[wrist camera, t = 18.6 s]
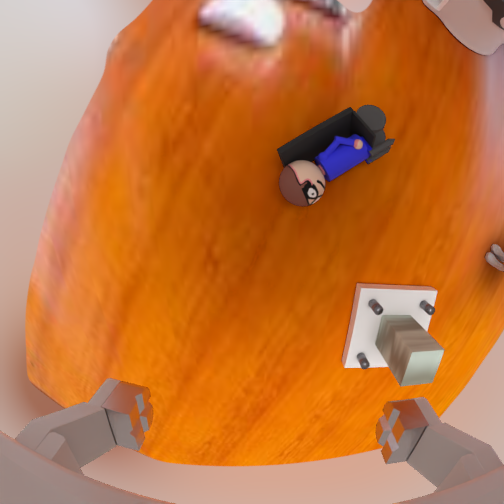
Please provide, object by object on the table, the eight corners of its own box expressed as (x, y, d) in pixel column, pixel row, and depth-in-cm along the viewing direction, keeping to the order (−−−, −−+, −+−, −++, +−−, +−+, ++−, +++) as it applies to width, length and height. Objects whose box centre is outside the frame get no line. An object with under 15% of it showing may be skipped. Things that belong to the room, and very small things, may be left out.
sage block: (382, 314, 36) (412, 352, 26) (410, 315, 36) (444, 349, 26) (374, 344, 37) (400, 386, 27) (402, 343, 37) (432, 382, 27)
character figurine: (387, 152, 34) (290, 209, 37) (359, 103, 33) (259, 159, 35) (416, 151, 27) (298, 220, 29) (383, 90, 25) (259, 156, 27)
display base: (356, 283, 38) (367, 294, 33) (430, 286, 37) (446, 296, 33) (341, 360, 40) (348, 377, 36) (411, 358, 40) (422, 373, 35)
